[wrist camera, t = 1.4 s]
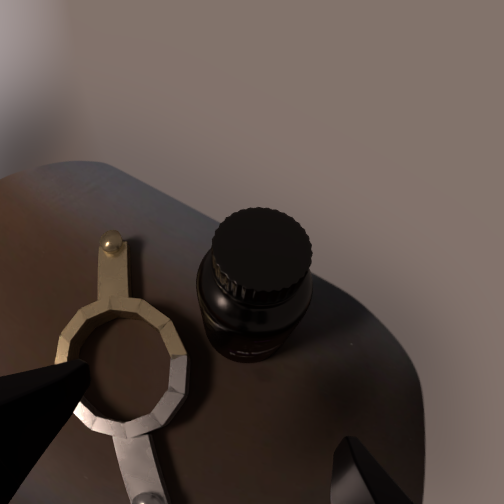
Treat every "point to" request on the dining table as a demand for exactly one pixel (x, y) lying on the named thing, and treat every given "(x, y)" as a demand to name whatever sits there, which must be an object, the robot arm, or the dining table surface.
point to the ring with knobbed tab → (115, 303)
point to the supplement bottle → (254, 283)
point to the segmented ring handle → (142, 437)
